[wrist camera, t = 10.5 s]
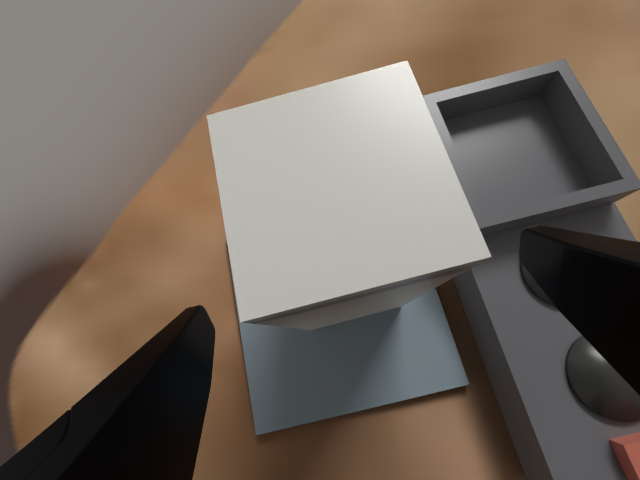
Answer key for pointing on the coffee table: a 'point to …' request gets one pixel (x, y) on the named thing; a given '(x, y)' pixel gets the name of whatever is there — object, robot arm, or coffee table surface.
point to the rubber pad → (349, 364)
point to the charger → (339, 201)
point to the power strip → (515, 281)
